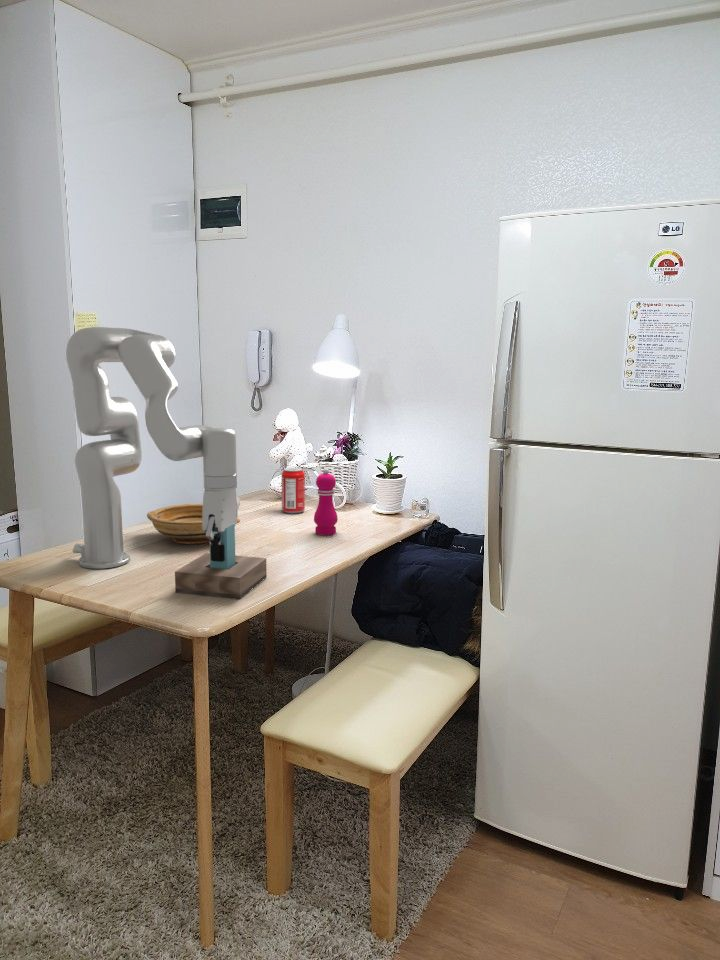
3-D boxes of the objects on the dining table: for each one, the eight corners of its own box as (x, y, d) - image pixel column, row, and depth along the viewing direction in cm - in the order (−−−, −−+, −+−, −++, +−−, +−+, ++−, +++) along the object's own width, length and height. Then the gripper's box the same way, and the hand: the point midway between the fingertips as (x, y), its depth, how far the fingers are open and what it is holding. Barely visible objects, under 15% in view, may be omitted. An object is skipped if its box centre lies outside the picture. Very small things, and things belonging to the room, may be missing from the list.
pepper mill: (323, 537, 217) (324, 471, 214) (309, 532, 222) (309, 468, 219) (342, 533, 222) (342, 468, 218) (327, 528, 227) (327, 465, 224)
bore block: (175, 592, 167) (174, 571, 166) (206, 572, 182) (206, 552, 182) (240, 599, 163) (239, 577, 162) (266, 577, 179) (266, 558, 178)
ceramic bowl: (257, 533, 220) (257, 508, 219) (217, 554, 198) (217, 526, 196) (172, 525, 229) (171, 500, 228) (125, 544, 207) (124, 516, 205)
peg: (210, 572, 171) (209, 527, 169) (218, 567, 175) (217, 522, 173) (227, 574, 170) (226, 528, 168) (235, 569, 174) (234, 524, 172)
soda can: (285, 515, 245) (285, 471, 242) (279, 510, 252) (278, 467, 249) (307, 513, 248) (307, 470, 245) (300, 508, 255) (300, 466, 252)
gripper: (221, 475, 177) (223, 547, 181) (188, 487, 161) (191, 567, 165) (249, 476, 175) (251, 549, 179) (219, 489, 159) (221, 569, 163)
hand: (222, 557), depth 172 cm, fingers closed on peg, 4 cm apart
